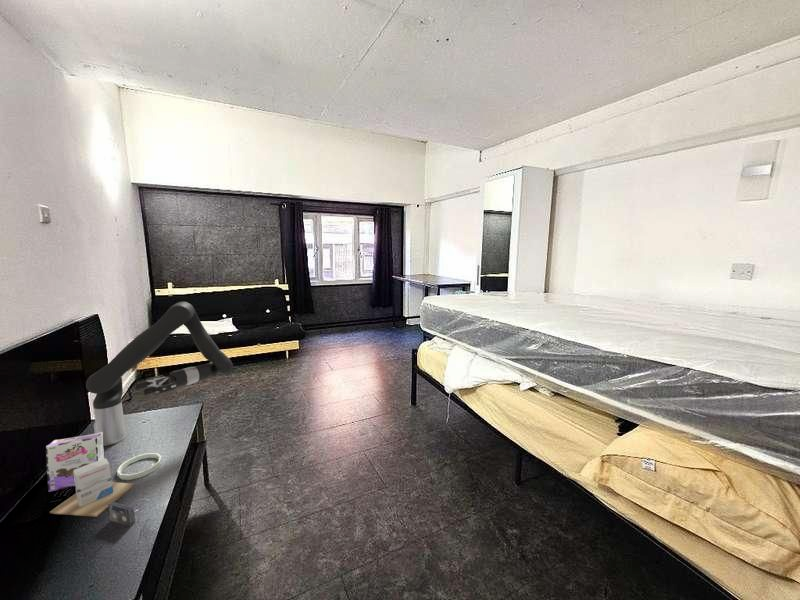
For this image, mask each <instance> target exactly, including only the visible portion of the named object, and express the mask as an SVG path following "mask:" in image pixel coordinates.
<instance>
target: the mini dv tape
mask: <svg viewBox="0 0 800 600" xmlns="http://www.w3.org/2000/svg"><path fill="white" fill-rule="evenodd" d="M108 505H109V507H108V511H109V512H108V513H109V519H110V521H111V522H113V523H117V524H121V525H124V526H127V527H132V526H133V525H134V524H135V523H136V520H135V519H136V518H135V509H134V507H133V506H130V505H128V504H127V505H126V504H124V503H120V502H116V501H115V502H111V503H110V504H108Z"/></svg>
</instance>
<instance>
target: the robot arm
mask: <svg viewBox="0 0 800 600" xmlns="http://www.w3.org/2000/svg"><path fill="white" fill-rule="evenodd" d="M182 326H185V328H186V329H187V331H188V333H190V335H191V337H192V340H193V343H194V344H195V346H196V348H197V349H198V351H199V352H200V353H201V355H202V356H203V358H204V359H206V360H207V361H210V362H207V363H203V364H199V365H196V366H188V367H186V368H181V369H177V370H173V371H171V372H169V375H168V376H164V375H163V374H161V375H157V376H153V377H149V378H146V379H145V381H143V382H138V383H135V385H134V388H135V389H136V390H141V389H143V390H142V391H143V395H145V396H146V395H150V394H153V393H159V394H163V393H166V392H168V391H169V392H170V391H173V390H176V389H179V388H182V387H186V386H189V385H192V384H194V383H197V382H200V381H203V380H207V379H209V378H211V377H214V376H218V375H226V374H229V373H231V372H232V370H233V362H232V360H231V359H230V358H229V357H228V355H226V354H225V353H224V352H223V351H221V350H220V348H219V347H218V345H217V344H216V343H215V341H214V340H213V339H212V337H211V336H210V334H209V333H208V332H207V330H206V329H205V327H204V325H203V324H202V322H201V320H200V317H199V316H198V314H197V312H196V309H195V308H194V306H193V305H192V304H191V303H189V302H187V301H178V302H176V303H175V304H173V305H171V306H170V308H169V309H167V311H166V312H165V313H164V314H163V315H162V316H161V317H160V318H159V319H158V320H157V321H156V322H155V323H154V324H152V325H151V326H150V327H148V328H146V329H144V330H143V331H142V332H141V333H139V334H138V335H137V336H136V337H135V338H133V339H132V340H131V341H130V342H129V343H128V344H127V345H126V346H124V348H122V349H121V350H120V351H119V352H118V353H117V354H116V356H114V358H112V359H111V360H110V361H109V362H108V363H106V365H104V366H103V367H102V368H100V369H99V370H97V371H96V372H94V373H92V374H91V375H90V376H89V377H88V378H87V380H86V381H85V387H86V388H85V389H86V390H87V391H88V392H89V393H91V394H95V397H94V399H93V401H92V406H93V414H94V422H93V430H94V431H93V432H94V434H95V433H99V432H103V447H104V446H105V447H106V446H111V445H115V444H117V443H119V442H122V441H123V440H125V438H126V435H127V434H126V427H125V425H126V424H125V417H124V411H123V410H124V409H123V401H122V396H123V392H124V391H123V390H124V388H123V377H122V376H124V375H125V374H126V373H127V372H129V371H130V370H131V369H133V368H135V367H136V366H137V365H139V364H140V363H142V362H143V361H144V360H146V359H147V358H149V357H150V356H151V355H152V354H153V353H154V352H155V351H156V350H157V349H159V347H161V345H163V343H164V342H165V340H166V339H167V338H168V337H169V336H170V335H171V334H172V333H175V331H176V330H178V329H180V328H181V327H182ZM146 387H148V388H146Z"/></svg>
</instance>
